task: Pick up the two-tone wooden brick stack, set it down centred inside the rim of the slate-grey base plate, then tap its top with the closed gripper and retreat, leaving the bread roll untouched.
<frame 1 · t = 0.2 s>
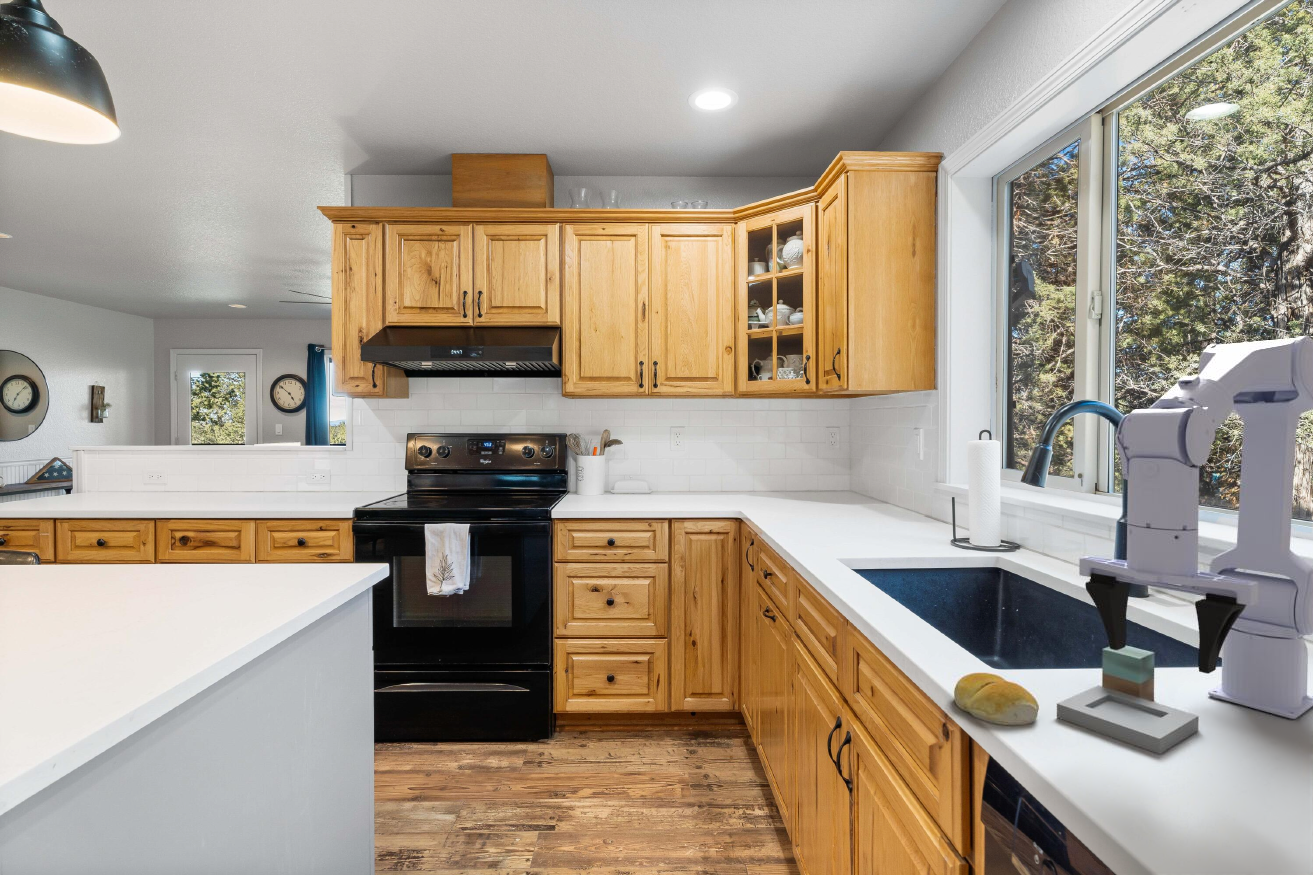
hand: (1160, 658, 66), 10 cm above the countertop, tool pointing down, fingers open, 7 cm apart
brick stack: (1127, 698, 80), on the countertop
base plate: (1126, 723, 73), on the countertop
bread roll: (995, 713, 77), on the countertop
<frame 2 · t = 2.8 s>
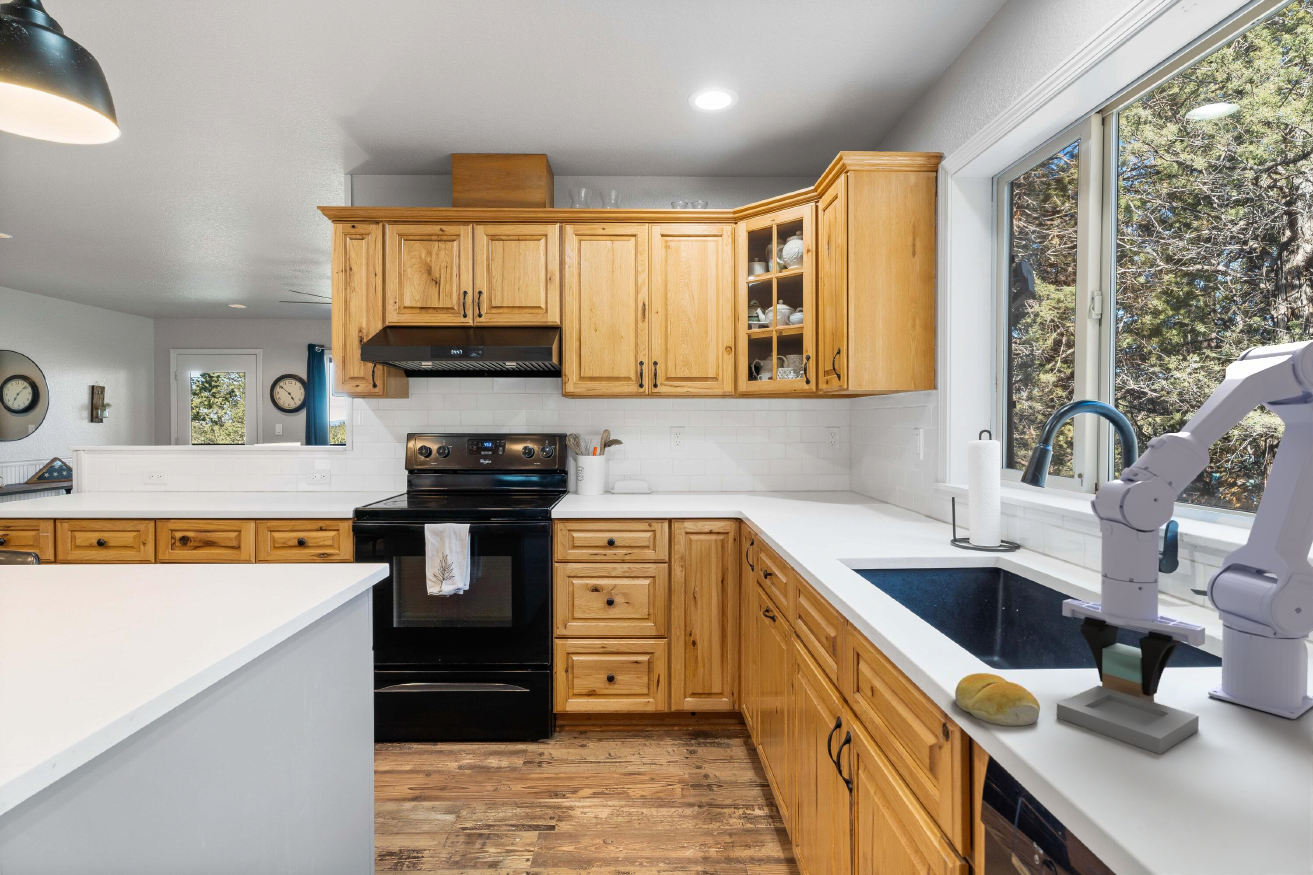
hand: (1127, 687, 80), 1 cm above the countertop, tool pointing down, fingers closed on brick stack, 4 cm apart
brick stack: (1127, 698, 80), on the countertop, touching gripper
everything else where it was.
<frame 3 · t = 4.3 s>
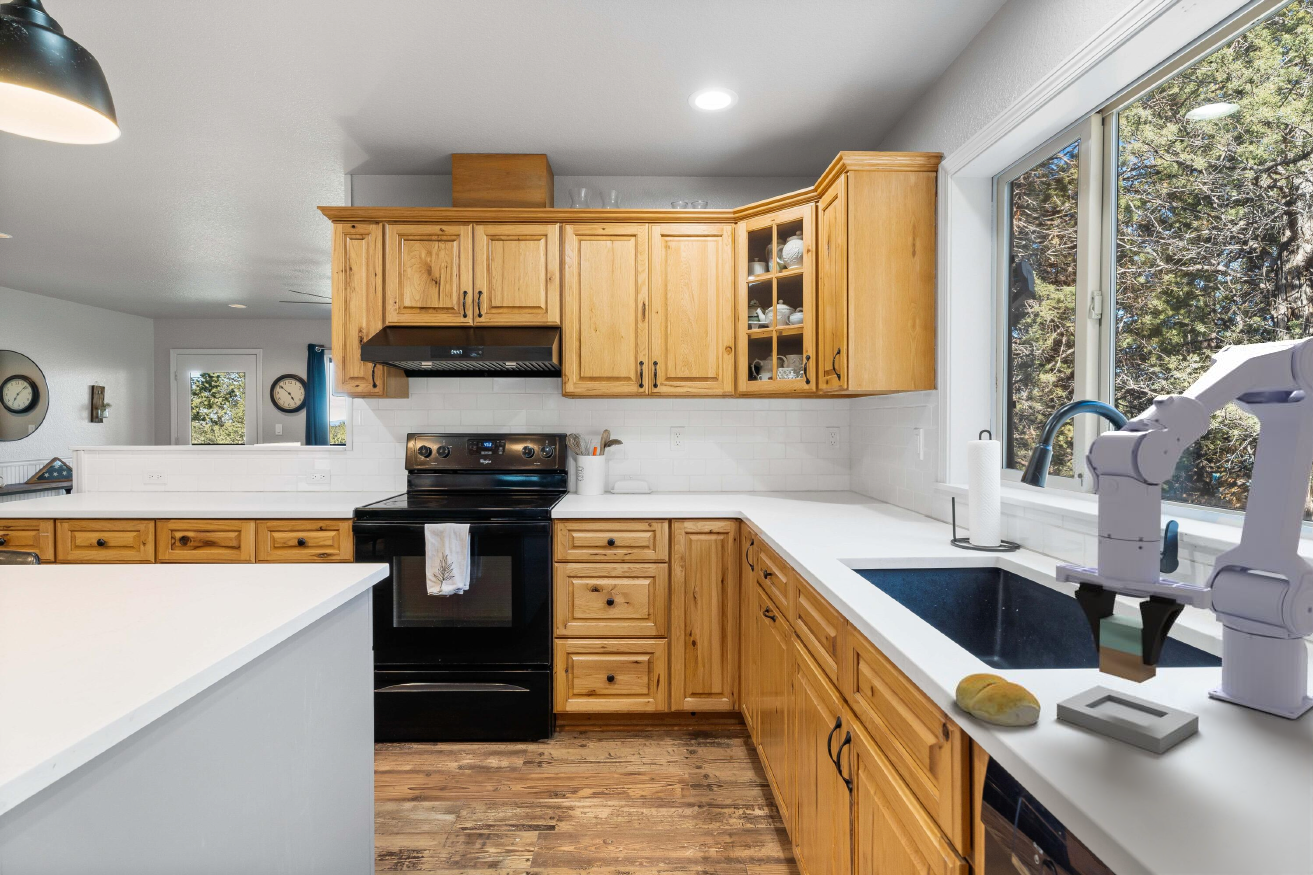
hand: (1126, 657, 73), 8 cm above the countertop, tool pointing down, fingers closed on brick stack, 4 cm apart
brick stack: (1127, 673, 73), point 6 cm above the countertop, touching gripper
everything else where it was.
when the fingers open (3 cm above the countertop, at t = 5.8 s): brick stack stays where it is, resting on base plate.
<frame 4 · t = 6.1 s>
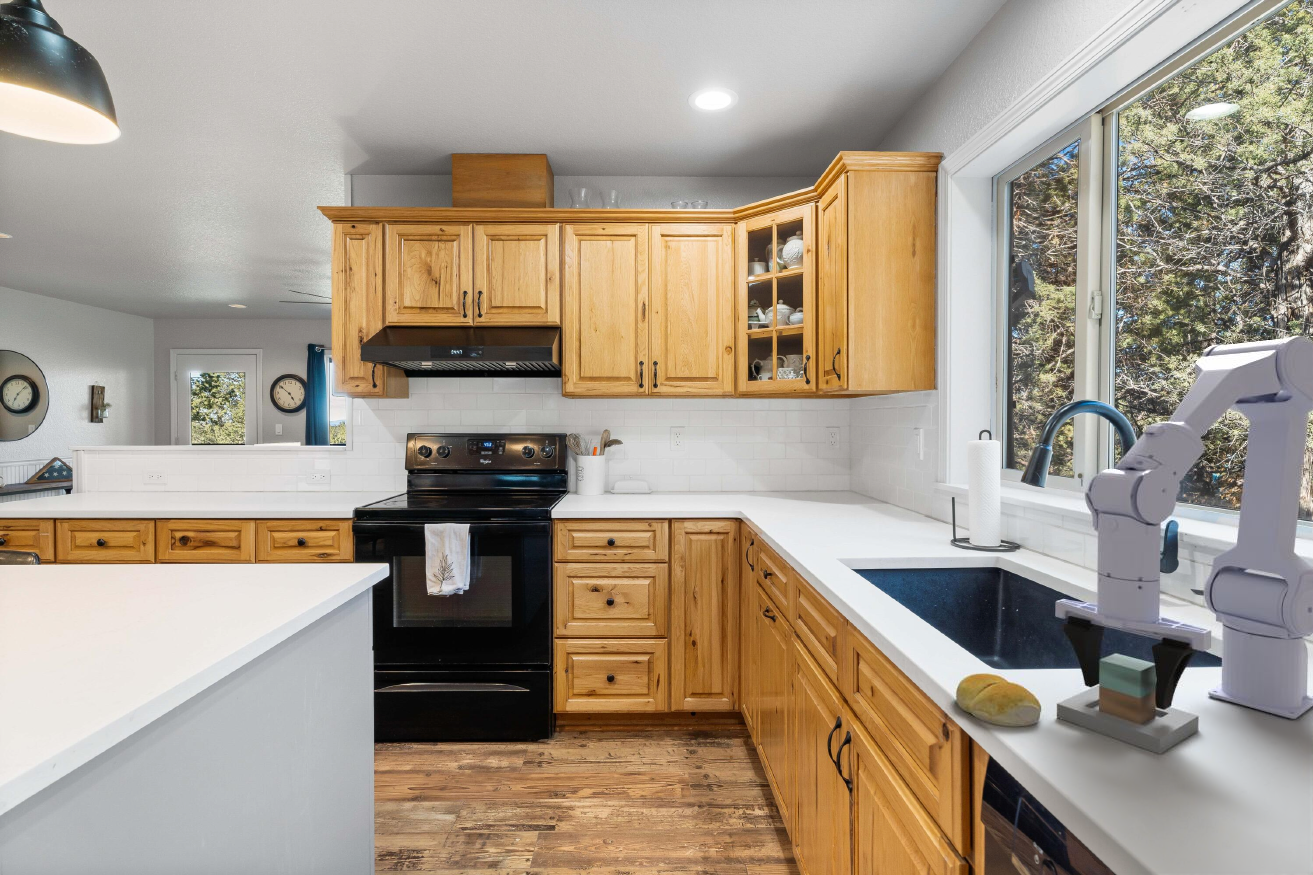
hand: (1126, 695, 73), 3 cm above the countertop, tool pointing down, fingers open, 6 cm apart
brick stack: (1126, 714, 73), point 1 cm above the countertop, touching base plate
everything else where it was.
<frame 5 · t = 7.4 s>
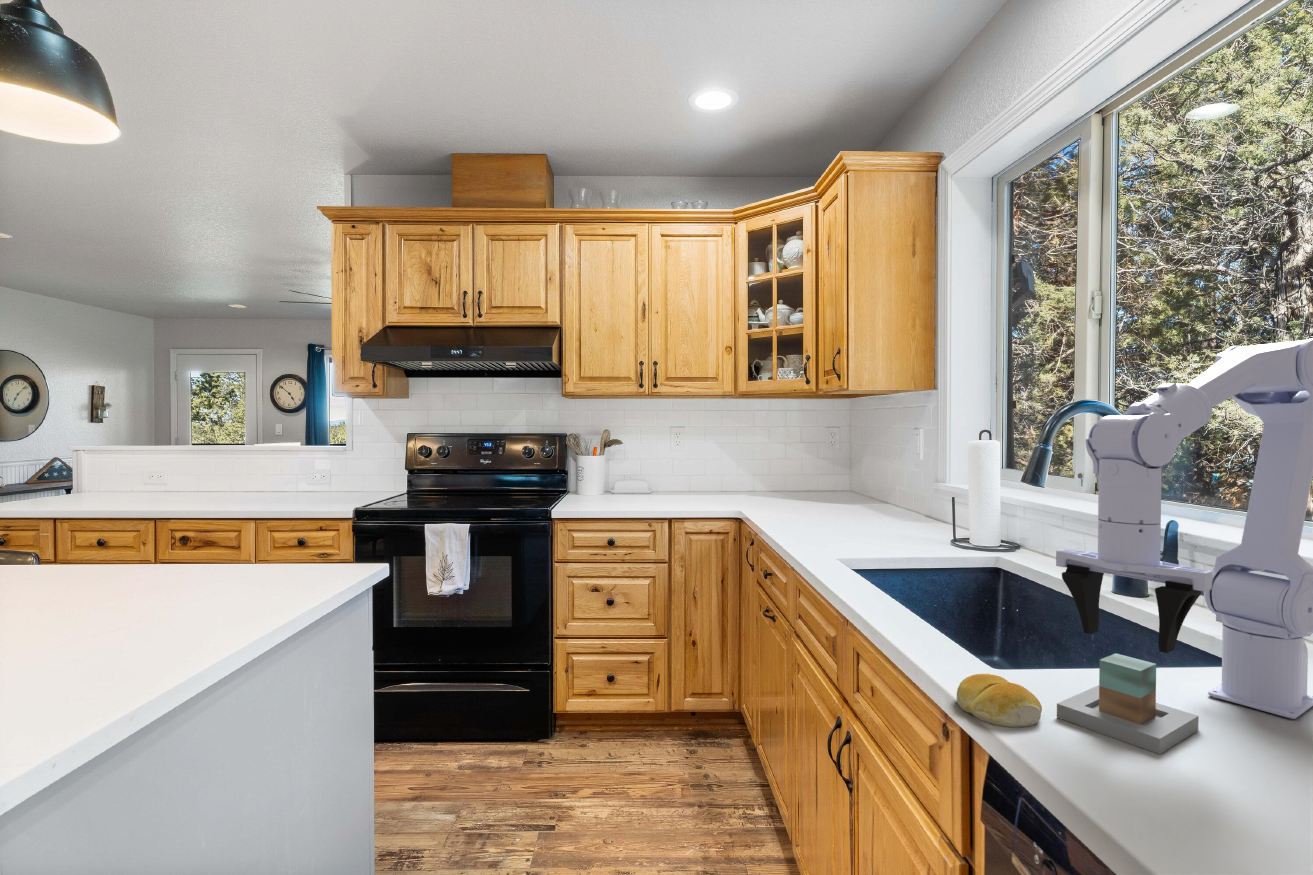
hand: (1127, 640, 73), 9 cm above the countertop, tool pointing down, fingers open, 7 cm apart
nothing on the countertop moved.
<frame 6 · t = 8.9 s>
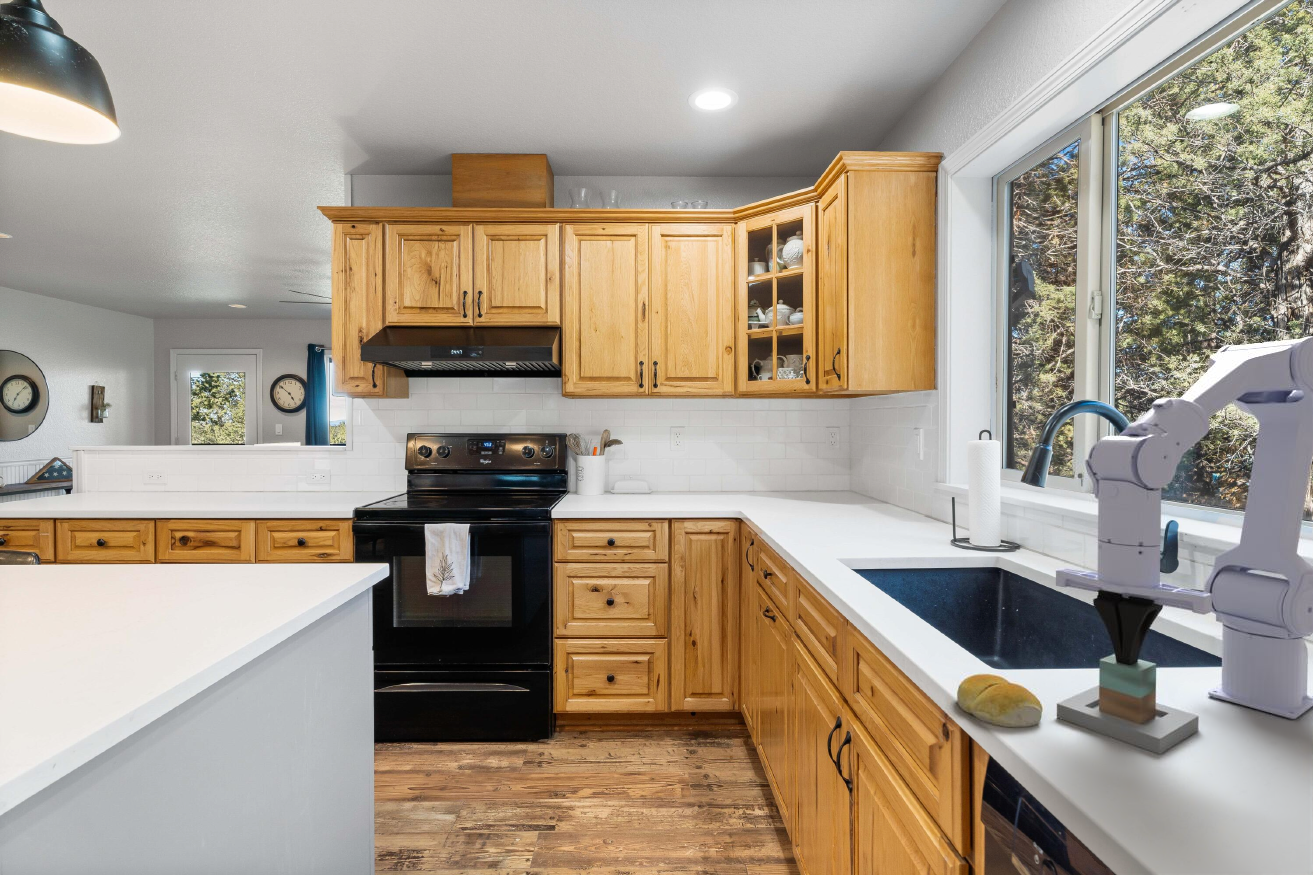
hand: (1126, 661, 73), 7 cm above the countertop, tool pointing down, fingers closed
nothing on the countertop moved.
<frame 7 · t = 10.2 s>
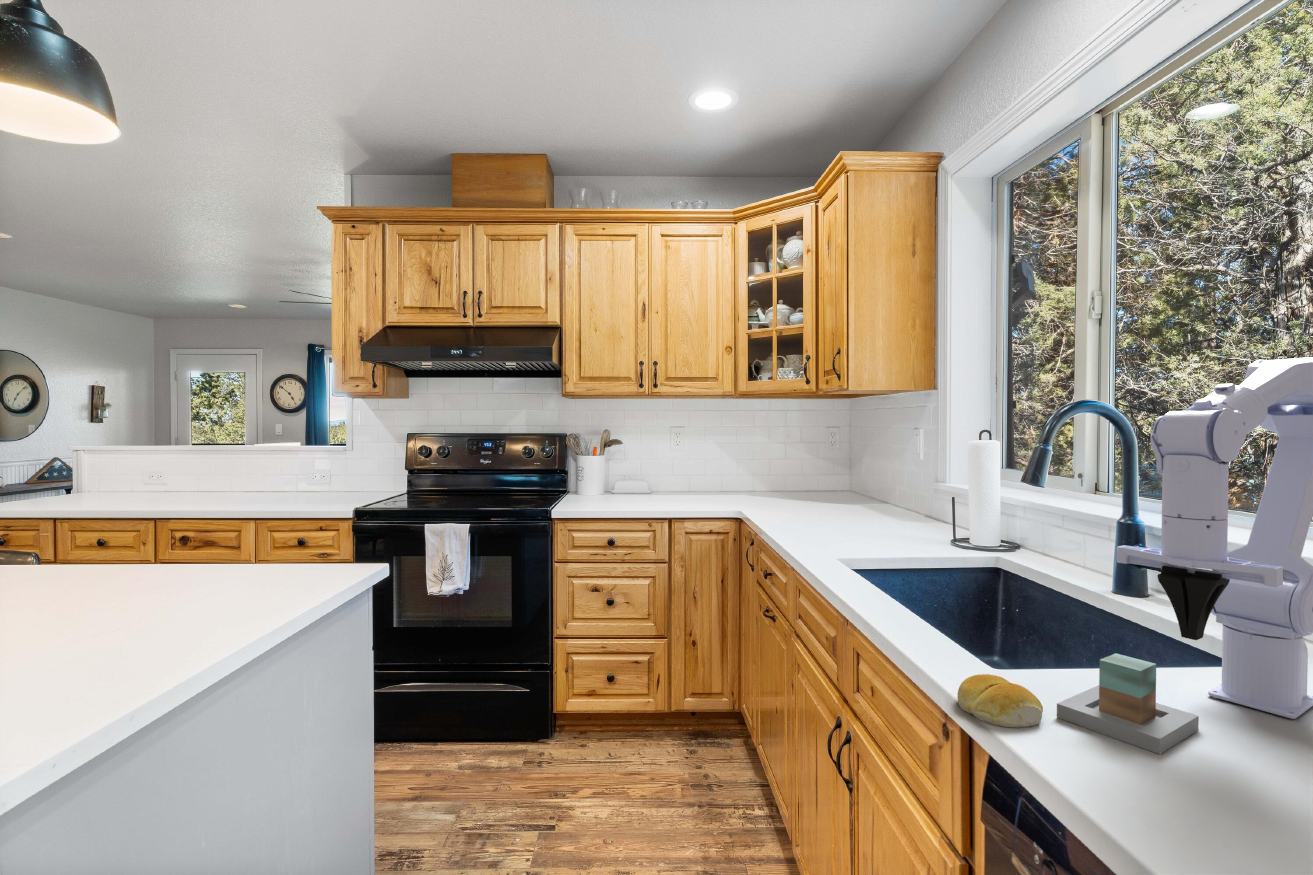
hand: (1192, 637, 73), 10 cm above the countertop, tool pointing down, fingers closed
nothing on the countertop moved.
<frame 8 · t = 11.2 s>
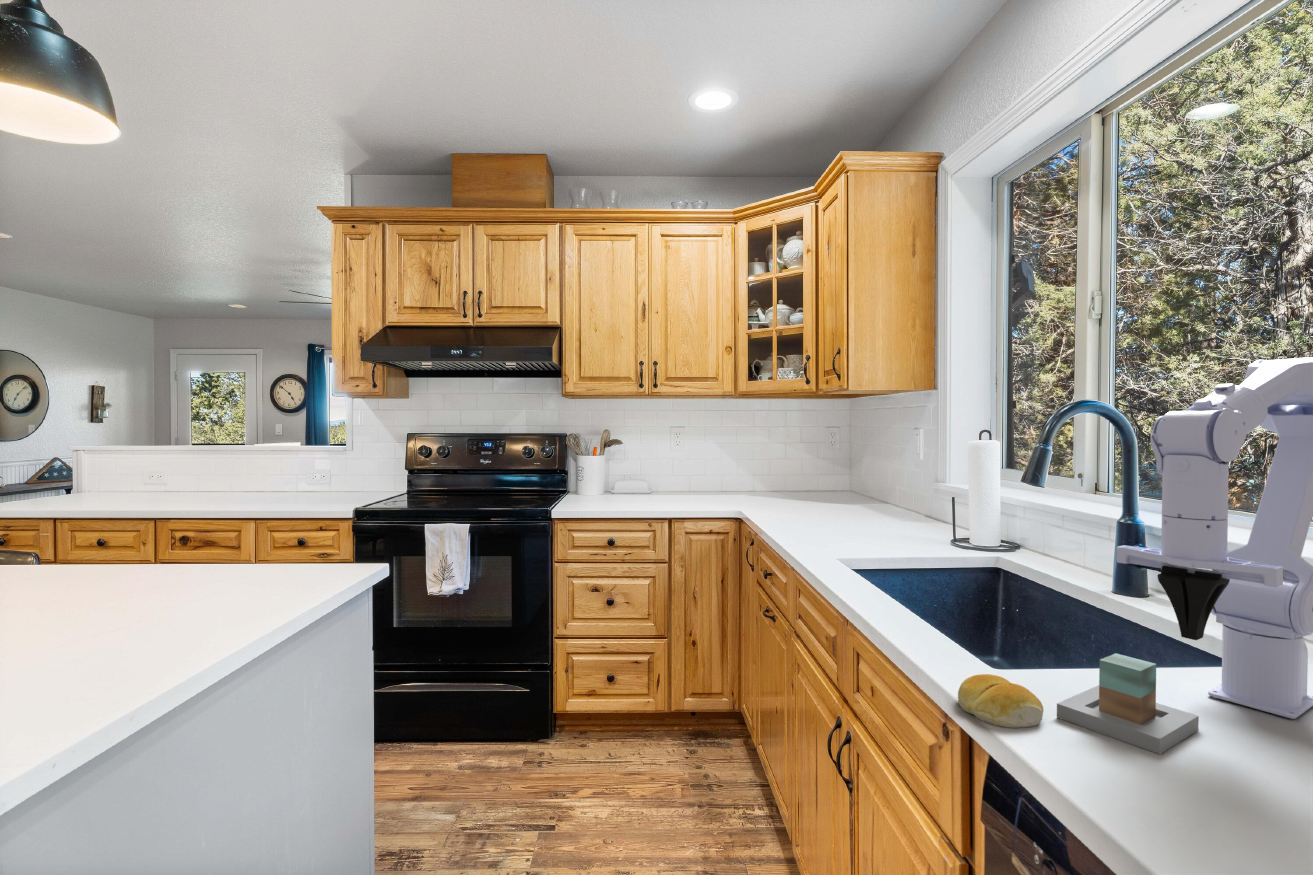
hand: (1192, 637, 73), 10 cm above the countertop, tool pointing down, fingers closed
nothing on the countertop moved.
at the end: brick stack 0.2 cm off-centre on the base plate, point 1.0 cm above the base plate's base; brick stack tilted 0°; the gripper is holding nothing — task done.
